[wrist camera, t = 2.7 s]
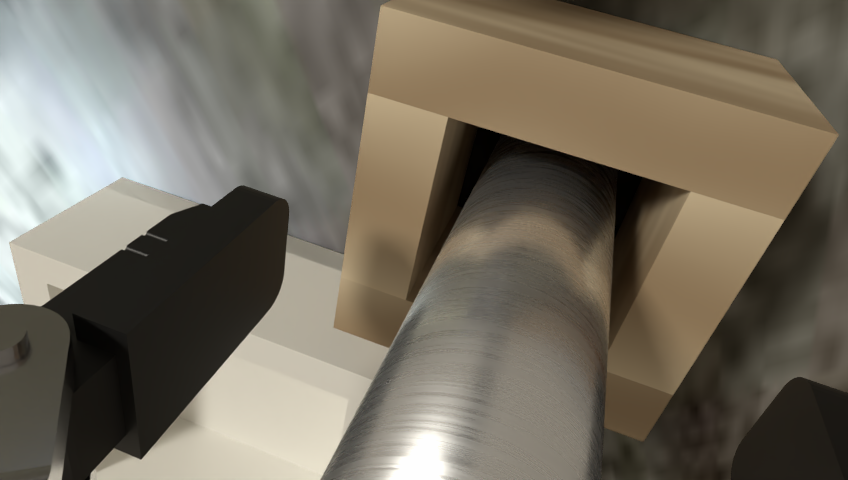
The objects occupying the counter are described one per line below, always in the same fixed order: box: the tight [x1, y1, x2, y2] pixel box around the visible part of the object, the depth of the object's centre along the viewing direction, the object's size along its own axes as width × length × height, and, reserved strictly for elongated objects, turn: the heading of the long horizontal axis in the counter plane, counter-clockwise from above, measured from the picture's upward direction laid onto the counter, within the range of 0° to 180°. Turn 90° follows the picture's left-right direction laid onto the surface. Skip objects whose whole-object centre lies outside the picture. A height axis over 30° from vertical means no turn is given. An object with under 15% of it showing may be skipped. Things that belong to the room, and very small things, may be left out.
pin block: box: [333, 0, 839, 442], centre depth 13 cm, size 7×7×4 cm
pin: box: [320, 134, 618, 480], centre depth 10 cm, size 4×4×13 cm
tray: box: [9, 177, 389, 480], centre depth 20 cm, size 11×11×4 cm
